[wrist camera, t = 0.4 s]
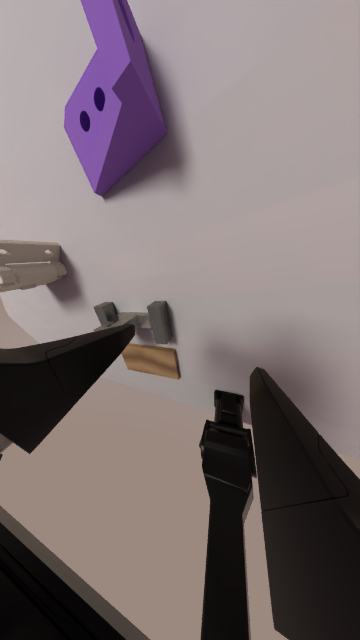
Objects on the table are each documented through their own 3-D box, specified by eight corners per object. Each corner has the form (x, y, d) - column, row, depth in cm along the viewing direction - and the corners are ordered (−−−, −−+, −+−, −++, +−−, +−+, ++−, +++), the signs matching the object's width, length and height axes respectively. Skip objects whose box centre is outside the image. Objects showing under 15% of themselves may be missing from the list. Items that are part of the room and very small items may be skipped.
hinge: (57, 241, 26) (-23, 236, 18) (75, 266, 28) (9, 273, 19) (36, 272, 33) (-30, 279, 24) (52, 291, 34) (-5, 304, 26)
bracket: (142, 39, 12) (68, -147, 7) (168, 135, 15) (130, 60, 9) (76, 136, 17) (2, 80, 12) (103, 196, 20) (52, 174, 14)
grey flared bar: (154, 325, 28) (131, 347, 21) (125, 323, 31) (97, 343, 24) (151, 312, 27) (125, 332, 20) (121, 312, 29) (90, 329, 23)
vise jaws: (172, 336, 28) (166, 344, 25) (116, 331, 33) (107, 338, 31) (165, 301, 24) (158, 306, 22) (104, 302, 30) (93, 307, 27)
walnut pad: (179, 376, 33) (178, 379, 32) (130, 366, 38) (128, 369, 38) (174, 348, 29) (173, 351, 28) (120, 342, 35) (117, 344, 34)
